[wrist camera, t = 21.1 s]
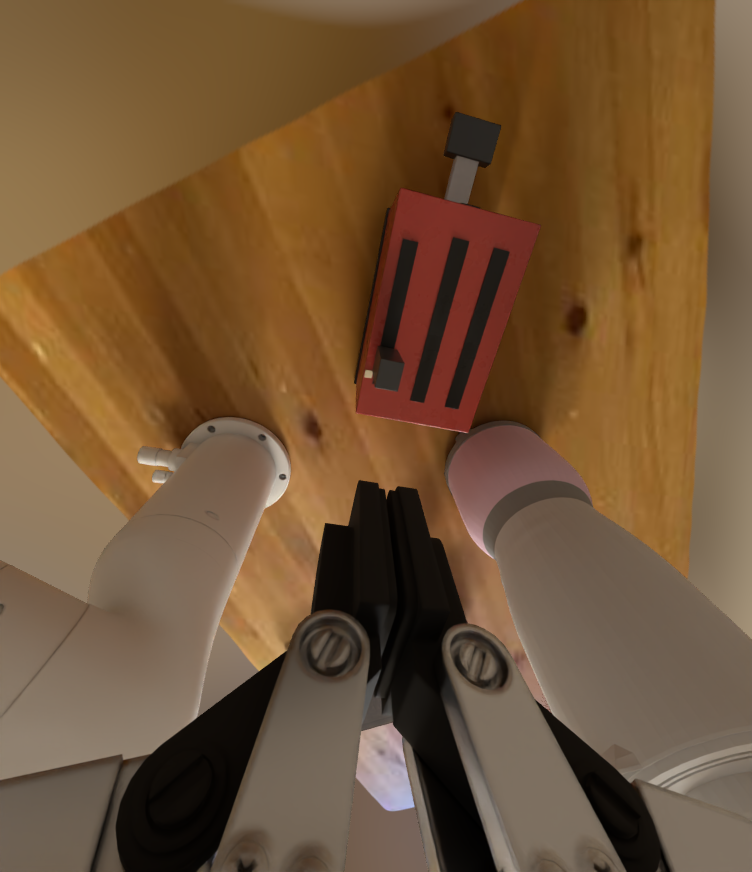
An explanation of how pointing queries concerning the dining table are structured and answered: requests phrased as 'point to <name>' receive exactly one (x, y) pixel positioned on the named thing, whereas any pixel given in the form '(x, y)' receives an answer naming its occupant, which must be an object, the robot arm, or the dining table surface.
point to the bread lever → (468, 153)
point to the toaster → (440, 306)
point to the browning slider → (387, 369)
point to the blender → (609, 622)
